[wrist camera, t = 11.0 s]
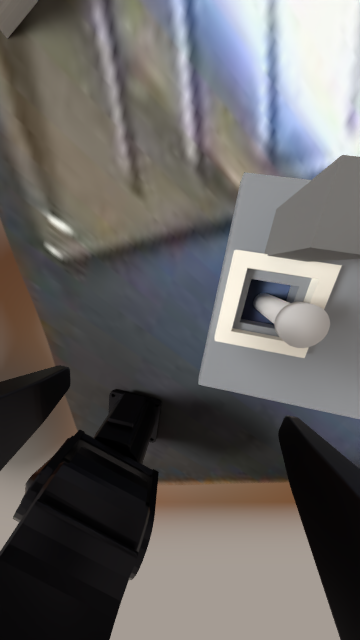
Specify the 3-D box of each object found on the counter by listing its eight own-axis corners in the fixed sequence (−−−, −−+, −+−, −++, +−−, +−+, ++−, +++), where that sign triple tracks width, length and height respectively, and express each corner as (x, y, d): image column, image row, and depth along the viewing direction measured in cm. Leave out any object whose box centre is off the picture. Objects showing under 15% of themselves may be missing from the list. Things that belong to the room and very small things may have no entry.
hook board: (356, 409, 19) (448, 495, 12) (198, 376, 21) (195, 435, 13) (467, 208, 14) (767, 141, 6) (240, 181, 15) (273, 101, 8)
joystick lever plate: (298, 353, 17) (360, 409, 10) (214, 337, 17) (220, 379, 11) (351, 218, 13) (494, 170, 7) (244, 204, 14) (279, 148, 7)
